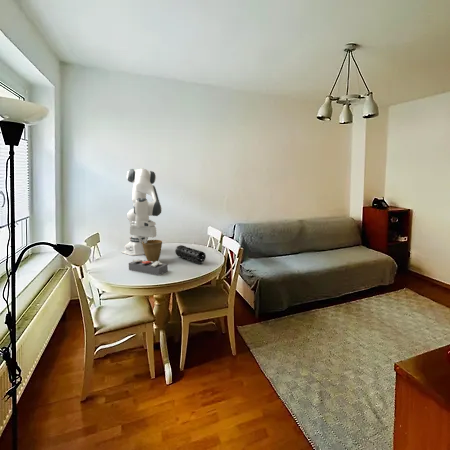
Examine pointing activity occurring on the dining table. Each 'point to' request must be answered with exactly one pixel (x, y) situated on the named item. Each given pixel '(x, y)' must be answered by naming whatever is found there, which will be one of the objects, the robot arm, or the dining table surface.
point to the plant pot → (152, 249)
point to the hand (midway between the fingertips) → (143, 242)
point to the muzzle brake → (190, 254)
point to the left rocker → (137, 261)
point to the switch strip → (148, 267)
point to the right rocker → (155, 264)
